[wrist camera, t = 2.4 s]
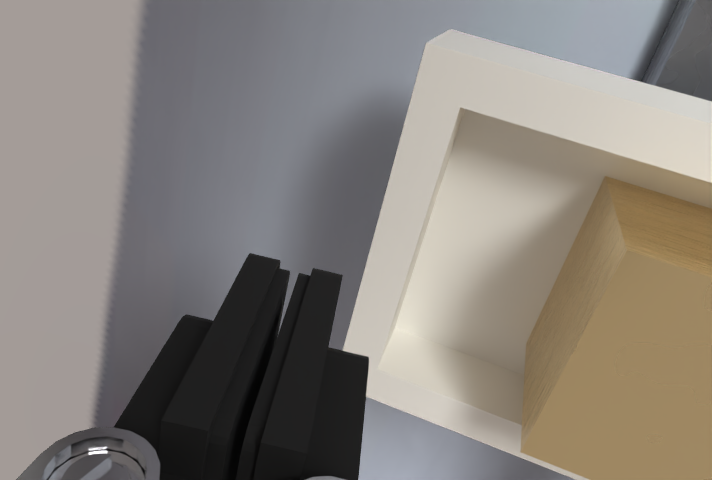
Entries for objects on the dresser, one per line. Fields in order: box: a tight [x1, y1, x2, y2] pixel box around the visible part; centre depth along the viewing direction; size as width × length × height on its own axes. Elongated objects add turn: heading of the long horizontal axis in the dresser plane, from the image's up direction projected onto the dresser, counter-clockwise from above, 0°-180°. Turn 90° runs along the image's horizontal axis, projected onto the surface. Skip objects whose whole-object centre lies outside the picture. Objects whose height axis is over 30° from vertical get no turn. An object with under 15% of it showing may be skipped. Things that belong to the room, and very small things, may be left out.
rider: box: [520, 176, 712, 480], centre depth 12 cm, size 5×5×4 cm
